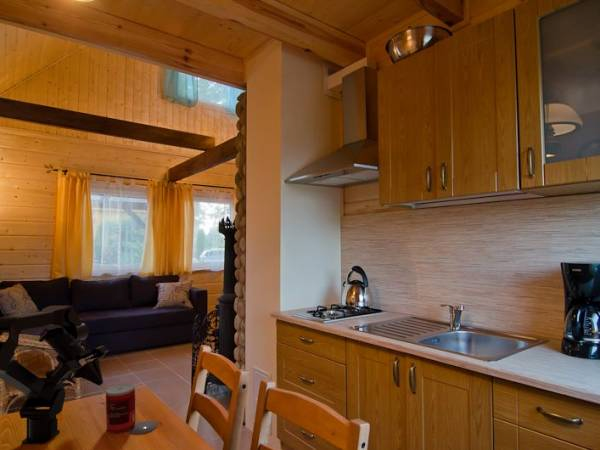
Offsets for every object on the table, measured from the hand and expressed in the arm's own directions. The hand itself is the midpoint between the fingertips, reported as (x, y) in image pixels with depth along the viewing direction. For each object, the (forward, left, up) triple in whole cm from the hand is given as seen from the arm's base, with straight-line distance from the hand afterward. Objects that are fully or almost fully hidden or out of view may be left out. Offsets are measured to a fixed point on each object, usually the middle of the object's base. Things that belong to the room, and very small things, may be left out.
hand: (101, 384), depth 111 cm
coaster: (+13, 0, -12) cm, 18 cm away
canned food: (+6, 0, -12) cm, 14 cm away
